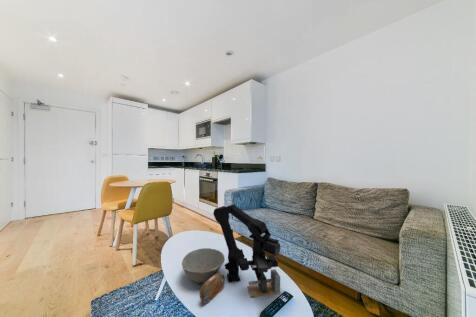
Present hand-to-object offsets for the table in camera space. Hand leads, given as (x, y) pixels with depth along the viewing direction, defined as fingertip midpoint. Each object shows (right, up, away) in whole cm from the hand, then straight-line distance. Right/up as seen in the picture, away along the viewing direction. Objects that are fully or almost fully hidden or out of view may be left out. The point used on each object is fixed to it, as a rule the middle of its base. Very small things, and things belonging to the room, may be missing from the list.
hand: (257, 279), depth 91 cm
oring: (+2, -5, +1) cm, 5 cm away
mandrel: (+3, -6, +1) cm, 7 cm away
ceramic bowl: (-29, -6, +10) cm, 31 cm away
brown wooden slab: (-22, -6, -3) cm, 23 cm away
